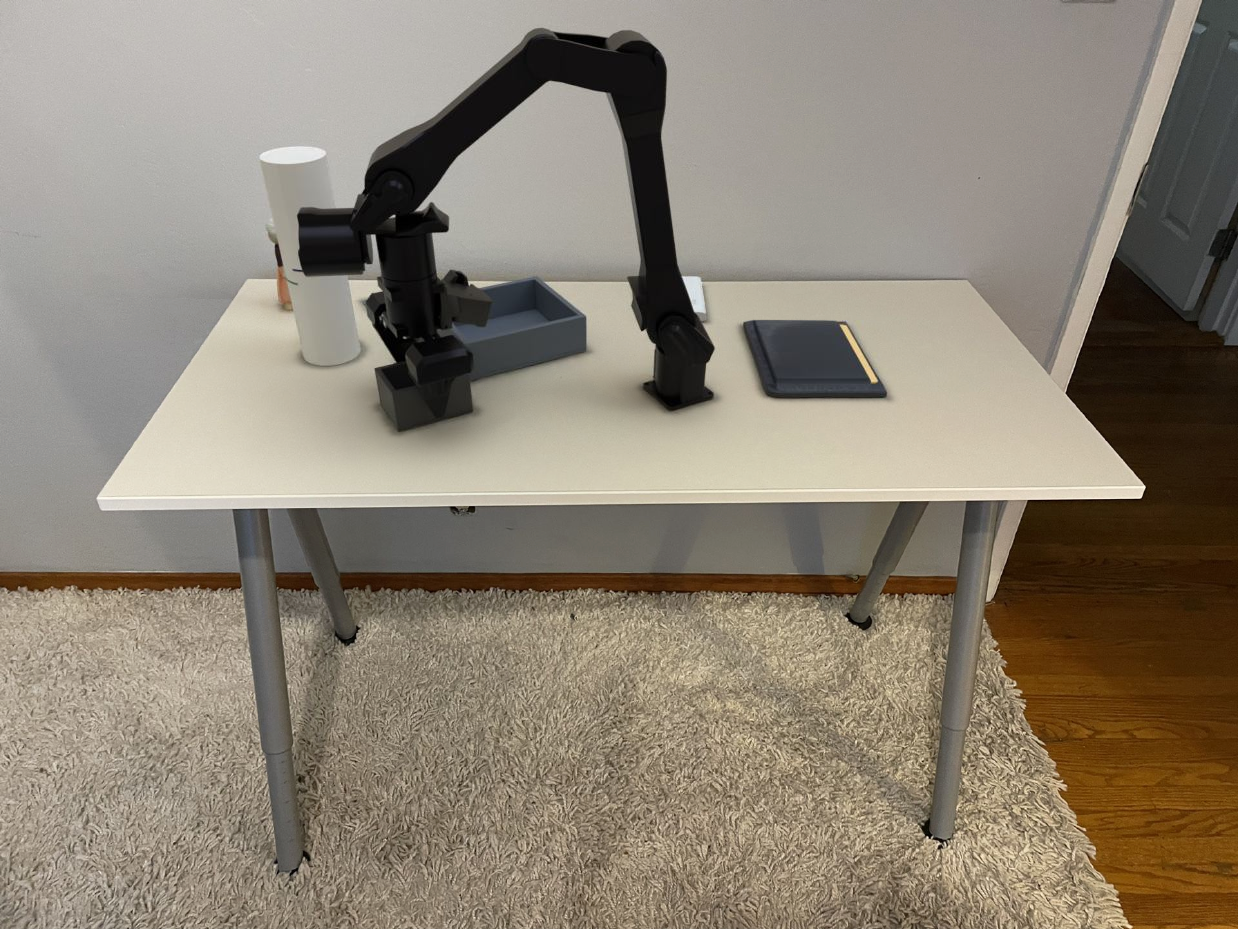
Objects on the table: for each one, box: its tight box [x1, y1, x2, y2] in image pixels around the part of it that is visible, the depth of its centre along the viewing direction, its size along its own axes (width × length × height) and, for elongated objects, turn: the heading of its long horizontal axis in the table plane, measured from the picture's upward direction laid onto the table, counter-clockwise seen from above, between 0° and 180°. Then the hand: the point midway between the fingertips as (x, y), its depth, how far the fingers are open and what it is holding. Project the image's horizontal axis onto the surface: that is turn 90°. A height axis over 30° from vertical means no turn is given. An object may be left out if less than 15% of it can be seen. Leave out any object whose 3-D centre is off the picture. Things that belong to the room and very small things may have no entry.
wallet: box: [742, 319, 888, 398], centre depth 110 cm, size 20×2×15 cm
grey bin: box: [437, 275, 588, 382], centre depth 111 cm, size 15×17×5 cm
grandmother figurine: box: [265, 216, 293, 311], centre depth 117 cm, size 8×4×13 cm, turn 25°
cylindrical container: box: [258, 145, 362, 367], centre depth 102 cm, size 7×7×25 cm
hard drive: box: [682, 275, 707, 323], centre depth 123 cm, size 2×8×12 cm
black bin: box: [373, 361, 474, 433], centre depth 97 cm, size 7×9×5 cm
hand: (425, 398), depth 98 cm, fingers open, 9 cm apart
